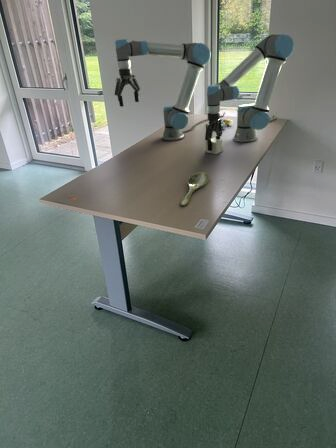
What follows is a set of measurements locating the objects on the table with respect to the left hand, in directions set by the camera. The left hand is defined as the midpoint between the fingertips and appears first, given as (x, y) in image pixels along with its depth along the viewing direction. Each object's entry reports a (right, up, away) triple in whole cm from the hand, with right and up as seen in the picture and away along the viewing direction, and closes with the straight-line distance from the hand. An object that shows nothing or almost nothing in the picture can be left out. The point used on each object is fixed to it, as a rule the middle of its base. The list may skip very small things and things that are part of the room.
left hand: (129, 104), depth 216 cm
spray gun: (+68, 0, +49) cm, 84 cm away
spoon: (+38, -60, -45) cm, 84 cm away
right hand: (+55, -29, 0) cm, 62 cm away
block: (+55, -30, +1) cm, 63 cm away
